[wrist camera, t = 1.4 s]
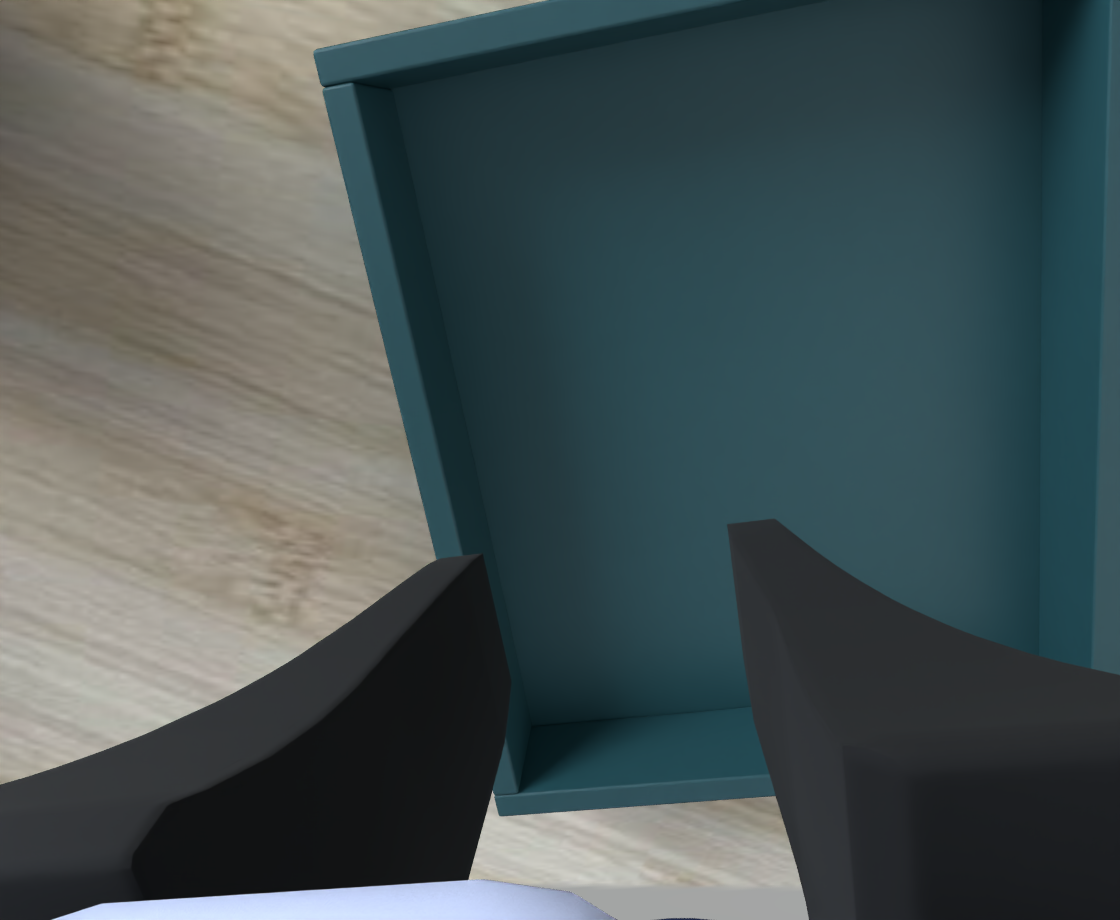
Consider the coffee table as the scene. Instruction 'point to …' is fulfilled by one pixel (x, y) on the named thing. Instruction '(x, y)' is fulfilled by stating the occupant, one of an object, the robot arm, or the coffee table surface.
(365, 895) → the robot arm
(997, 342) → the tray
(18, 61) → the coffee table surface
